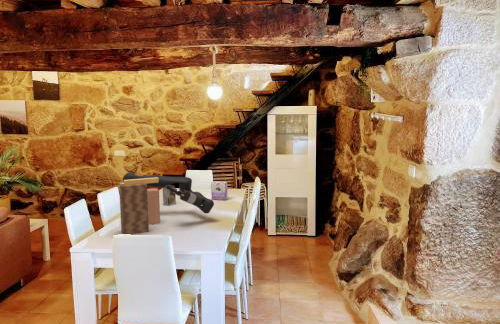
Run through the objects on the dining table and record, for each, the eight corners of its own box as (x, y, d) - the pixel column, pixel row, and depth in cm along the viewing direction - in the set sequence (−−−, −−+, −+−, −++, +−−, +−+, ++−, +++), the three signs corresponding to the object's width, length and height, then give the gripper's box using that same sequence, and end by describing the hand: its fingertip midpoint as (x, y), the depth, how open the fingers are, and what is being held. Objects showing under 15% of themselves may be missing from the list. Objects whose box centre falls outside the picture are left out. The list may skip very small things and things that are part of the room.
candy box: (227, 199, 348) (227, 181, 346) (225, 200, 343) (225, 182, 341) (213, 198, 352) (213, 180, 350) (211, 199, 346) (210, 181, 344)
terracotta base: (157, 220, 282) (156, 188, 279) (160, 223, 274) (159, 190, 271) (144, 221, 278) (143, 189, 275) (147, 224, 270) (146, 191, 267)
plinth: (145, 227, 264) (143, 181, 259) (148, 231, 255) (146, 184, 251) (121, 231, 257) (119, 184, 252) (123, 235, 248) (121, 186, 244)
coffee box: (171, 202, 335) (170, 184, 333) (176, 204, 331) (175, 185, 329) (162, 204, 328) (162, 186, 326) (167, 206, 324) (167, 187, 322)
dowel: (157, 181, 260) (157, 177, 260) (158, 182, 257) (158, 178, 257) (123, 184, 251) (123, 180, 250) (124, 185, 247) (124, 180, 247)
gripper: (187, 190, 276) (167, 181, 269) (193, 194, 264) (173, 184, 256) (182, 199, 276) (162, 190, 268) (188, 204, 263) (168, 194, 256)
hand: (168, 187), depth 262 cm, fingers open, 8 cm apart
